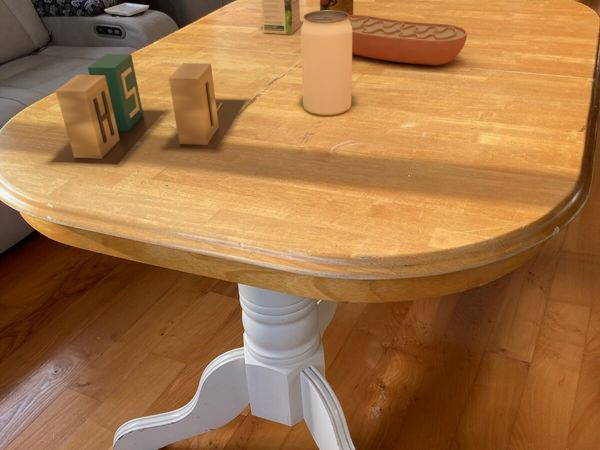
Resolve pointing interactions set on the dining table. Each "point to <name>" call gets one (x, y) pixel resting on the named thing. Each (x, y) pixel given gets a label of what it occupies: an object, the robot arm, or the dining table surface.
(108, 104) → the block
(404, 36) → the orange elongated oval dish
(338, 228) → the dining table surface
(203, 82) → the slotted tan block
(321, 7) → the condiment
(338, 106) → the can
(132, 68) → the green alphabet block
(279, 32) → the syrup box
